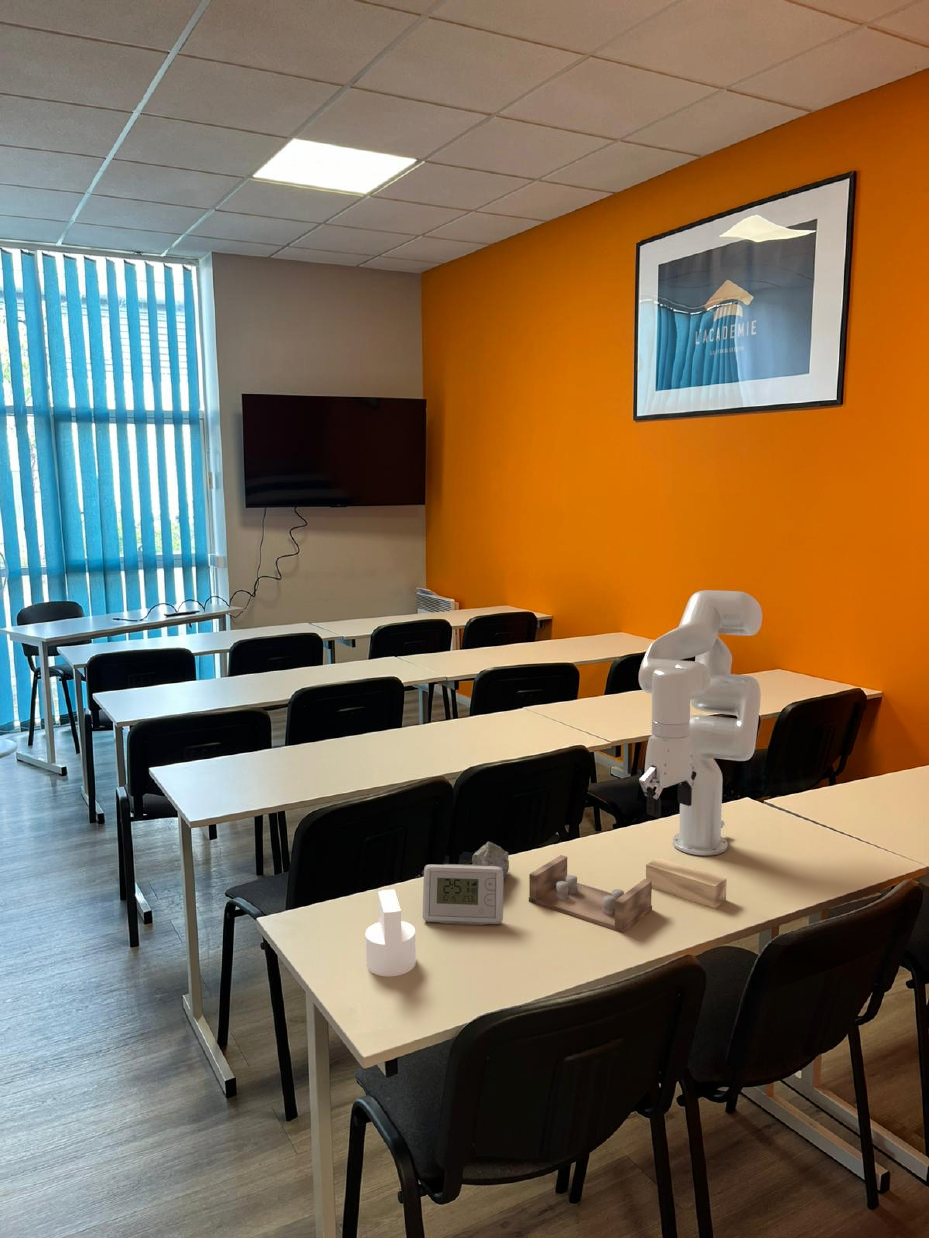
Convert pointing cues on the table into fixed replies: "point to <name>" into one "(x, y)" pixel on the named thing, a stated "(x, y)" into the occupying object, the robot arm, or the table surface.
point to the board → (687, 882)
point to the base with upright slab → (390, 939)
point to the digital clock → (463, 894)
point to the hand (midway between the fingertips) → (669, 809)
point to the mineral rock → (492, 857)
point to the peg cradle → (588, 897)
